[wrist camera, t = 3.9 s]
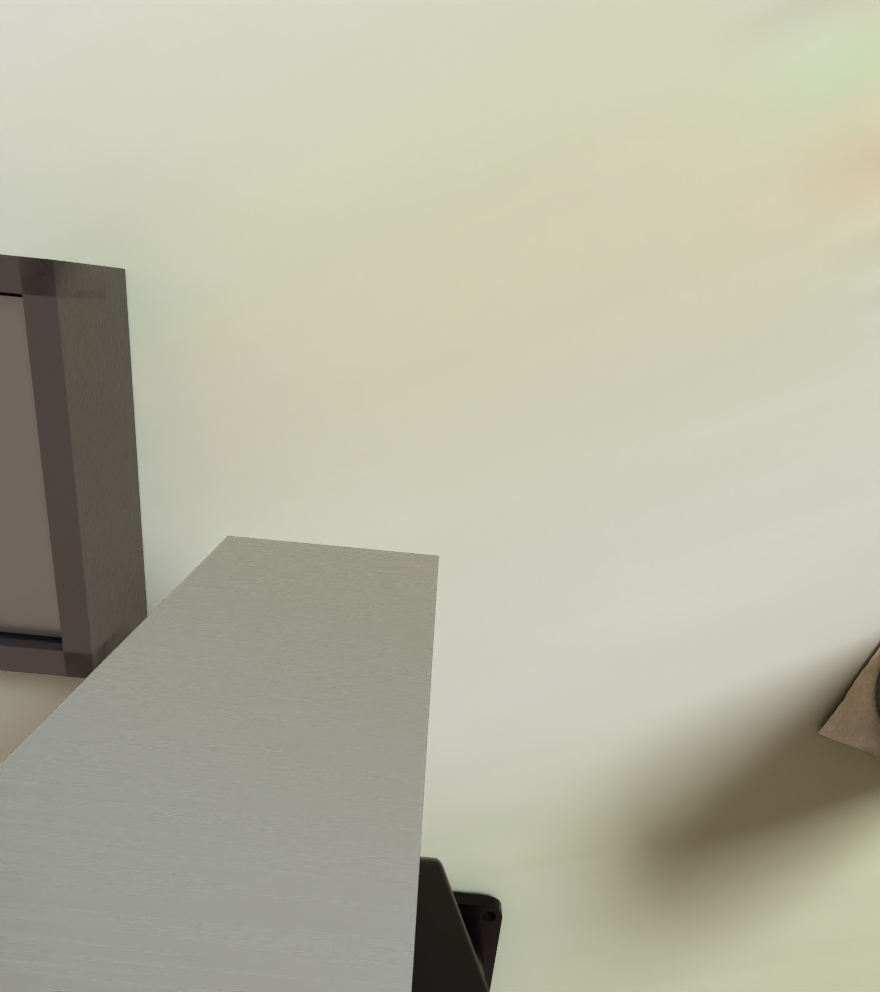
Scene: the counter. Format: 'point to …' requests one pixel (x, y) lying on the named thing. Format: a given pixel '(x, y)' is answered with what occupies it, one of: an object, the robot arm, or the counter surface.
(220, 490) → the counter surface
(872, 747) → the condiment
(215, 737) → the grey rectangular block
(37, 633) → the rack
